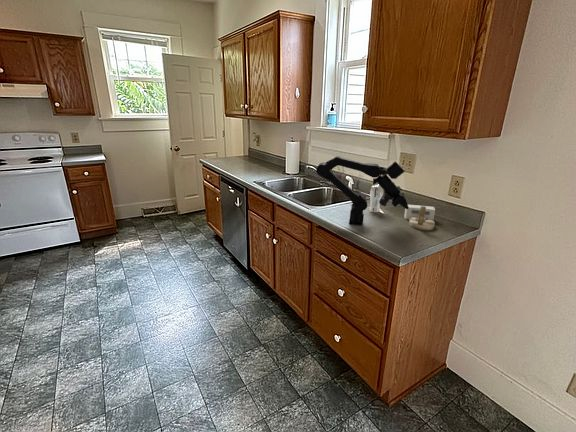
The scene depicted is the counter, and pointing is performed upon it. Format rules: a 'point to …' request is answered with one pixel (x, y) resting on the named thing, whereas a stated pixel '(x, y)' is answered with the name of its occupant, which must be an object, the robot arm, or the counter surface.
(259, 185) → the counter surface
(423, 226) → the cam dial
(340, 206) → the counter surface
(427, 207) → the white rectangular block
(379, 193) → the beer glass
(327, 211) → the counter surface
